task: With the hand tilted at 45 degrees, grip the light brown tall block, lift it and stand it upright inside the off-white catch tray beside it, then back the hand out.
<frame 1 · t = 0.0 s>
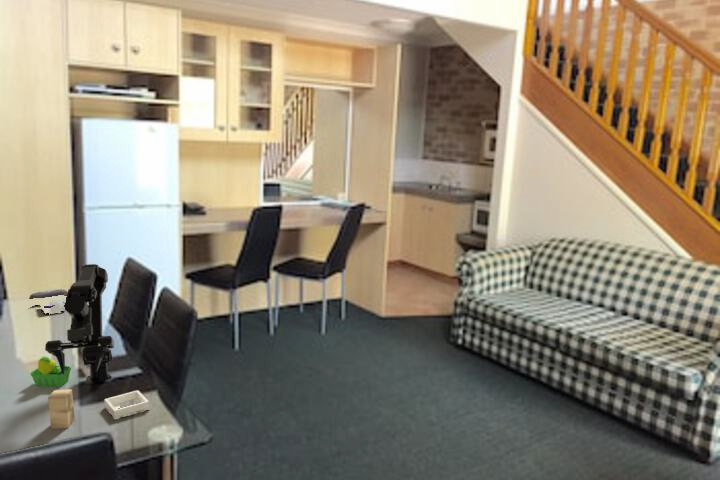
hand: (79, 372, 179), 15 cm above the table, tool tilted 35°, fingers open, 9 cm apart
light brown tall block: (63, 424, 178), on the table
handheld gaming console: (53, 311, 292), on the table
glasses case: (49, 304, 305), on the table
fruit basket: (51, 384, 207), on the table
catch tray: (127, 409, 188), on the table
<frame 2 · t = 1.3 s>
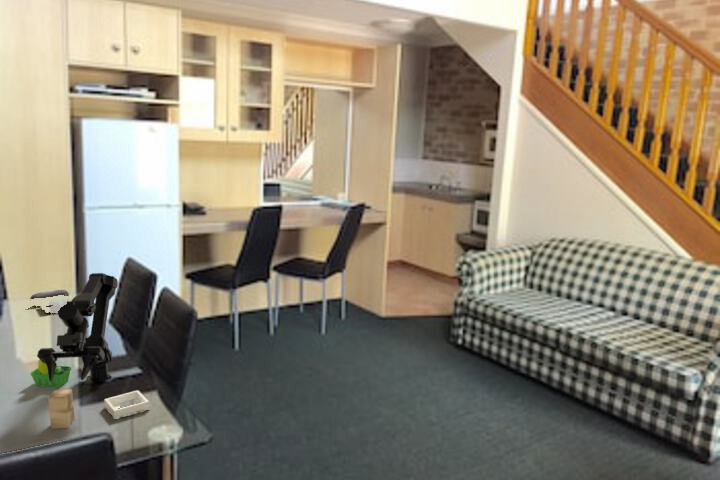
hand: (66, 380, 181), 12 cm above the table, tool tilted 45°, fingers open, 9 cm apart
handheld gaming console: (53, 310, 293), on the table
glasses case: (50, 304, 304), on the table
everything else where it was.
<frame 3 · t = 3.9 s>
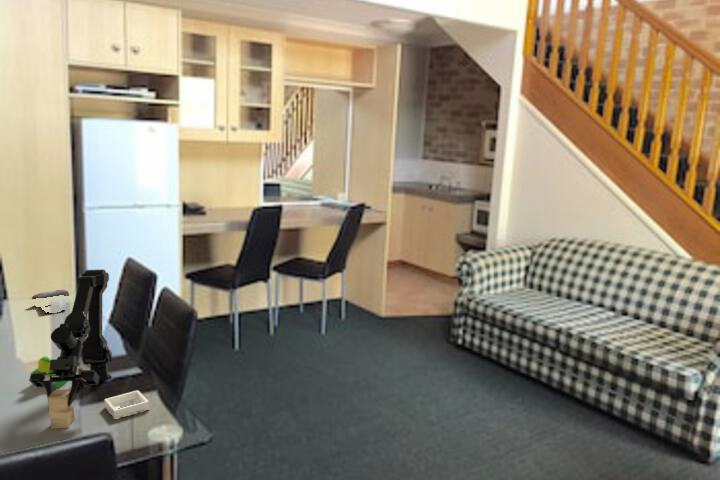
hand: (59, 405, 175), 7 cm above the table, tool tilted 45°, fingers closed on light brown tall block, 5 cm apart
light brown tall block: (63, 424, 178), on the table, touching gripper
glasses case: (51, 305, 303), on the table
everything else where it was.
when the fingers open (8 cm above the table, at t = 8.6 s): light brown tall block drops 1 cm, resting on catch tray.
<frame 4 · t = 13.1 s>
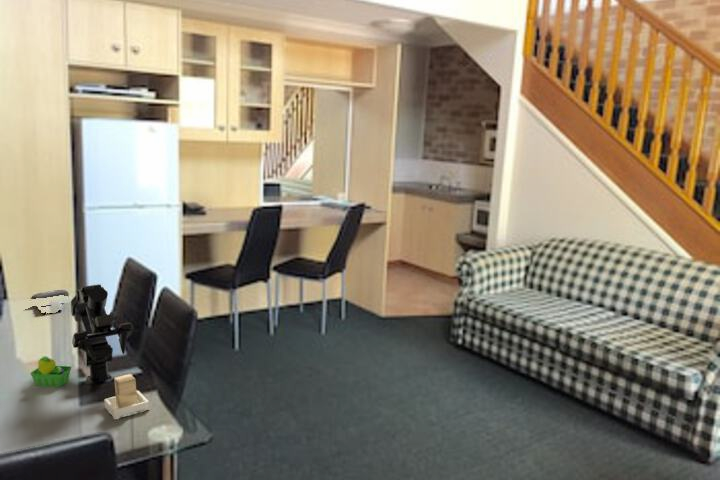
hand: (109, 356, 195), 14 cm above the table, tool tilted 45°, fingers open, 9 cm apart
light brown tall block: (127, 407, 187), resting on catch tray
handheld gaming console: (49, 311, 293), on the table
everything else where it was.
at the end: light brown tall block 0.0 cm off-centre on the catch tray, point 0.5 cm above the catch tray's base; light brown tall block tilted 0°; the gripper is holding nothing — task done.
